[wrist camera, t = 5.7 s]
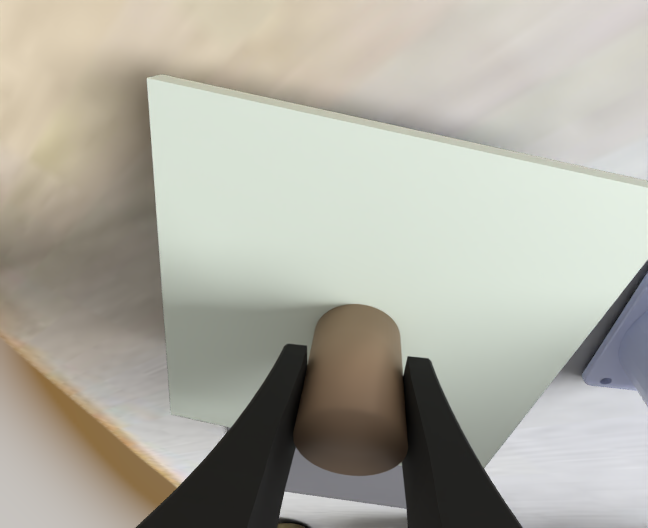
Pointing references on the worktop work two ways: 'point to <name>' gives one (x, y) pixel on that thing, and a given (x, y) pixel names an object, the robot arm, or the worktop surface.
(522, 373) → the lid
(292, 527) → the fennel bulb
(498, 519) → the robot arm
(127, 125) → the worktop surface
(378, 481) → the mat
